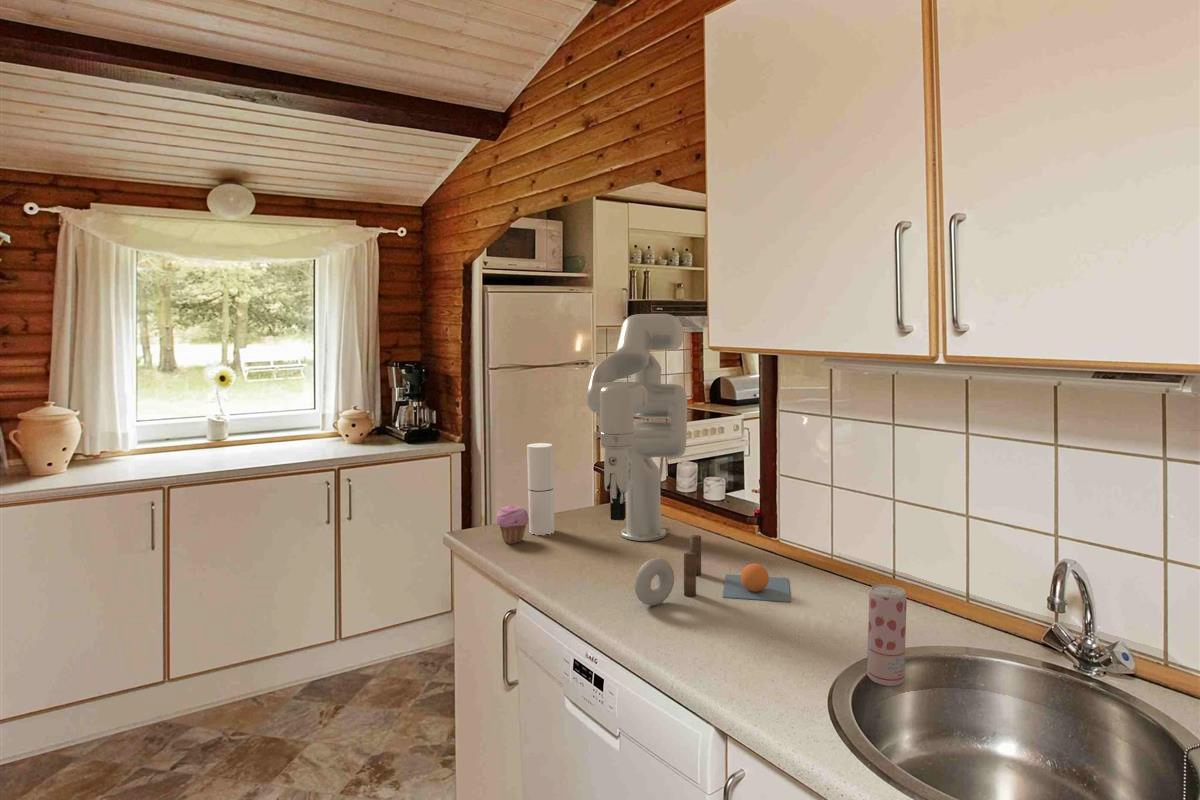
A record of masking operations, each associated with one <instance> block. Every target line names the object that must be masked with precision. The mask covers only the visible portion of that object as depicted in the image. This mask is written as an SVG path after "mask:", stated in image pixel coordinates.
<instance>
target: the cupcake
mask: <svg viewBox="0 0 1200 800" xmlns="http://www.w3.org/2000/svg"><path fill="white" fill-rule="evenodd" d="M495 519H496V521H495V522H496V523H497V525H498V526H499V528H500V531H501V536H502V540H503V541H504V542H505V543H507V544H508V545H513V544H517V543H520V542H522V540H523V538H524V536H525V532H526V526H527V525H528V524H529V512H528V511H527V510H526V508H525V507H524V506H521V505H505V506H503V507H501V508H500V509H499V511H498V513H497V514H496V516H495Z"/></svg>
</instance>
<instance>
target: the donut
mask: <svg viewBox="0 0 1200 800" xmlns="http://www.w3.org/2000/svg"><path fill="white" fill-rule="evenodd" d="M656 575H657V577H658V580H657V583H656V585H655V586H654V587H653V588H652V587H651V585H652V580H653V578H654V577H656ZM674 583H675V572H674V569H673V567H672V565H671V564H670V562H668V561H667V560H666V559H664V558H660V557H653V558H651V559H648V560H645V562H644V563H642V564H641V566H640V567H639V569H638V571H637V572H636V575H635V579H634V586H633V587H634V593H635V595H636V597H637V599H638V600H639V601H640V602H641V603H642V604H643V605H646V606H649V607H652V606H658V605H660V604H662V603H664V602H665V600H666V599H667V598H668V597H669V595H671V593H672V590H673V588H674Z"/></svg>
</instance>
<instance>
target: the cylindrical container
mask: <svg viewBox="0 0 1200 800" xmlns="http://www.w3.org/2000/svg"><path fill="white" fill-rule="evenodd" d="M553 448H554V447H553V444H552V443H547V442H538V443H530V444H527V445H526V457H527V458H526V459H527V493H528V517H529V520H528V525H529V526H528V527H529V528H528V531H529V532H530V533H531V534H530V533H529V534H530V535H532V534H535V535H534V536H538V535H542V536H546V535H545V534H549V535H552V534H554V533H555V501H554V499H555V498H554V495H555V494H554V492H555V491H554V462H553V461H554V456H553V455H554V454H553V452H554V451H553ZM551 533H552V534H551Z"/></svg>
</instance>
